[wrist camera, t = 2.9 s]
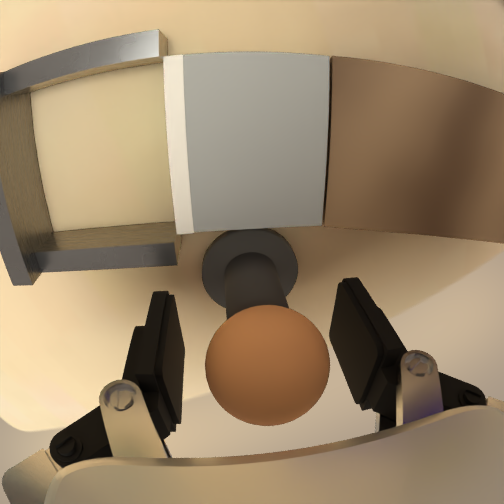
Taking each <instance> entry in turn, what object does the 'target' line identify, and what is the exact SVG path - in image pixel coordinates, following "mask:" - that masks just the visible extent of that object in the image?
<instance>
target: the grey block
mask: <svg viewBox="0 0 504 504" xmlns="http://www.w3.org/2000/svg"><path fill="white" fill-rule="evenodd" d="M163 65H164V93H165V112H166V128H167V142H168V155H169V167H170V177H171V188H172V197H173V206H174V215H175V224H176V232H177V234H192V233H194V232H207V231H224V230H241V229H260V228H279V227H300V226H322V216H323V204H324V191H325V177H326V161H327V142H328V117H329V56H324V55H313V54H301V53H284V52H215V53H198V54H186V55H183V54H182V55H172V56H164V57H163Z"/></svg>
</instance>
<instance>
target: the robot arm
mask: <svg viewBox="0 0 504 504" xmlns="http://www.w3.org/2000/svg"><path fill="white" fill-rule="evenodd" d="M329 337H330V341H331V344H332V346H333V349H334V351H335V354H336V356H337V358H338V361H339V364H340V366H341V369H342V371H343V373H344V376H345V379H346V381H347V384H348V386H349V389H350V391H351V394H352V396H353V399H354V401H355V403H356V404H360V407H361V409H362V410H366V409H371V408H372V409H373V411H374V412H376V422H375V433H372V434H368V435H364V436H360V437H356V438H352V439H347V440H343V441H338V442H334V443H329V444H324V445H319V446H314V447H308V448H301V449H296V450H288V451H281V452H273V453H265V454H255V455H244V456H231V457H212V458H172V456H171V454H170V451H169V449H168V447H167V445H166V442H165V440H164V439H165V438H166V437H168V436H169V435H170V432H175V431H176V424H181V415H182V392H183V374H184V357H185V347H184V342H183V337H182V332H181V327H180V323H179V318H178V313H177V307H176V302H175V297H174V295H169V292H168V291H156V292H153V294H152V298H151V302H150V307H149V311H148V315H147V319H146V324H145V326H136V327H135V329H134V331H133V335H132V339H131V343H130V347H129V351H128V355H127V360H126V364H125V368H124V373H123V377H122V380H116V381H113V382H111V383H109V384H108V385H106V386H105V387H104V388H103V390H102V391H101V393H100V396H99V403H100V406H98V407H97V408H95V409H94V410H92V411H91V412H89V413H88V414H86V415H85V416H83V417H82V418H80V419H79V420H77V421H76V422H74V423H72V424H71V425H69V426H68V427H66V428H65V429H63V430H62V431H60V432H59V433H57V434H56V435H55V436H54V437H53V439H52V440H51V443H50V446H49V449H47V450H44V449H41V450H39V451H38V452H36V453H35V454H33V455H32V456H30V457H28V458H27V459H25V460H23V461H22V462H20V463H18V464H17V465H15V466H14V467H12V468H10V469H8V470H7V471H6V472H5V473H4V476H3V478H2V486H3V489H4V491H5V494H6V496H7V498H8V500H9V502H10V504H504V402H503V401H501V400H498V399H495V398H492V397H488V398H487V399H486V398H485V395H484V394H483V392H482V391H481V390H480V389H479V388H477V387H476V386H474V385H471V384H469V383H466V382H463V381H461V380H458V379H456V378H453V377H451V376H448V375H446V374H443V373H440V372H438V368H437V364H436V362H435V360H434V359H433V357H432V356H431V355H429V354H428V353H426V352H423V351H420V350H411V351H407V350H406V348H405V346H404V345H403V343H402V342H401V340H400V338H399V337H398V335H397V333H396V332H395V330H394V329H393V327H392V326H391V324H390V322H389V321H388V319H387V318H386V316H385V314H384V313H383V311H382V310H381V309H380V308H379V307H377V306H376V304H375V302H374V301H373V299H372V298H371V296H370V295H369V293H368V292H367V290H366V289H365V287H364V286H363V284H362V283H361V281H360V280H359V278H357V277H355V278H344V279H343V281H342V282H341V283H339V284H338V288H337V294H336V300H335V305H334V311H333V316H332V322H331V327H330V332H329Z"/></svg>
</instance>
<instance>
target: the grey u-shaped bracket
mask: <svg viewBox="0 0 504 504" xmlns="http://www.w3.org/2000/svg"><path fill="white" fill-rule="evenodd" d="M164 56H168V39H167V38H166V37H165V36H164V34H163V33H162V32H161V31H160V30H159V29H158V30H151V31H144V32H138V33H132V34H127V35H122V36H117V37H112V38H108V39H103V40H99V41H95V42H91V43H87V44H83V45H79V46H76V47H72V48H69V49H66V50H62V51H59V52H56V53H53V54H50V55H47V56H44V57H41V58H38V59H35V60H33V61H30V62H27V63H25V64H22V65H20V66H17V67H15V68H12V69H10V70H8V71H5V72H0V252H1V255H2V258H3V260H4V263H5V266H6V269H7V271H8V274H9V276H10V279H11V281H12V284H13V286H17V285H33V284H34V283H35V281H36V280H37V278H38V277H39V276H40V274H41V273H42V272H61V271H81V270H101V269H119V268H138V267H155V266H173V265H177V264H178V259H179V254H180V249H181V243H182V240H181V234H177V232H176V224H175V222H164V223H151V224H138V225H126V226H115V227H103V228H93V229H82V230H72V231H62V232H53V229H52V225H51V222H50V218H49V214H48V210H47V205H46V201H45V196H44V192H43V187H42V182H41V177H40V172H39V166H38V160H37V154H36V147H35V140H34V132H33V124H32V114H31V102H30V92H32V91H36V90H39V89H42V88H45V87H48V86H51V85H55V84H58V83H62V82H65V81H69V80H73V79H77V78H81V77H85V76H89V75H94V74H98V73H103V72H107V71H112V70H118V69H123V68H129V67H135V66H141V65H148V64H155V63H163V57H164Z"/></svg>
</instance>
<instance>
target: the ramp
mask: <svg viewBox="0 0 504 504" xmlns="http://www.w3.org/2000/svg"><path fill="white" fill-rule="evenodd" d="M323 220H324V227H334V228H348V229H361V230H373V231H386V232H397V233H408V234H419V235H430V236H440V237H450V238H460V239H469V240H478V241H487V242H496V243H504V94H503V93H500V92H497V91H495V90H492V89H489V88H486V87H483V86H480V85H477V84H474V83H471V82H467V81H464V80H461V79H457V78H453V77H450V76H446V75H442V74H438V73H434V72H430V71H426V70H421V69H417V68H412V67H407V66H402V65H396V64H391V63H385V62H378V61H372V60H364V59H356V58H348V57H338V56H332V57H331V59H330V113H329V138H328V158H327V174H326V189H325V202H324V214H323Z"/></svg>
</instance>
